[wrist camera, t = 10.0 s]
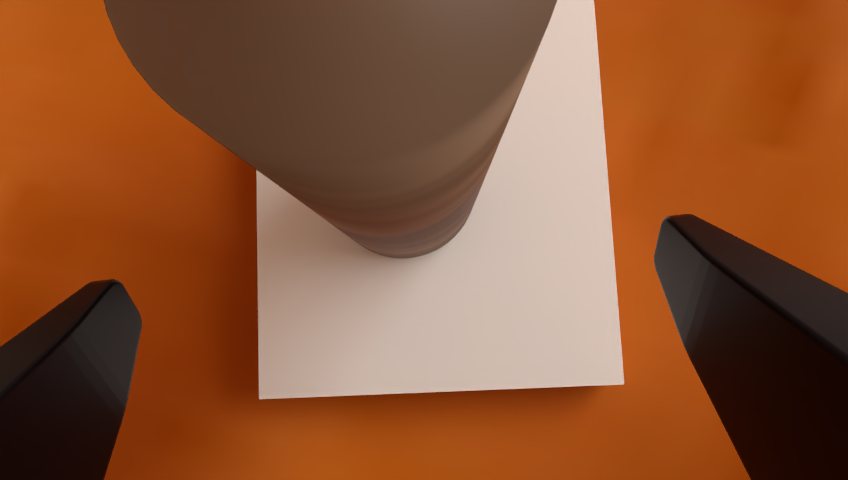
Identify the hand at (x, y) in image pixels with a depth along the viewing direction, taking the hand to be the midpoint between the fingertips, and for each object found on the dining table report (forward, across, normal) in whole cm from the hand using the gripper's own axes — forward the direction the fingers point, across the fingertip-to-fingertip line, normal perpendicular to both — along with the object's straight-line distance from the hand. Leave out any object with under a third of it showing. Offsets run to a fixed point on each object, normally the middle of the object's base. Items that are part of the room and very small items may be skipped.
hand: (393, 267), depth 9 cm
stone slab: (+11, -1, +4) cm, 12 cm away
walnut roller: (+9, 0, +4) cm, 10 cm away
